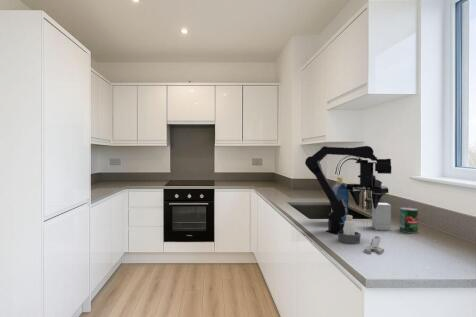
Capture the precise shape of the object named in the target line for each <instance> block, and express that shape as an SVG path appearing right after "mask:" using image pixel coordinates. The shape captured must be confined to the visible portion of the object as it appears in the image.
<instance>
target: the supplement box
mask: <svg viewBox="0 0 476 317" xmlns="http://www.w3.org/2000/svg"><path fill="white" fill-rule="evenodd" d="M371 205H372V207H371V227H372V228H373V229H374V230H376V231H378V230H379V231H391V229H392V228H391V227H392V226H391V225H392V204H389V203H388V202H379V203H378V205H377V208H376V209H374V206H373V202H372V203H371Z"/></svg>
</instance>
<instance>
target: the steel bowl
mask: <svg viewBox="0 0 476 317" xmlns="http://www.w3.org/2000/svg"><path fill="white" fill-rule="evenodd" d="M343 233H344V229H343V231H339V232H338V234H337V241H338V242H339V243H343V244H346V245H357V244H360V243H361V233H360V232H359V231H355V235H345V234H343Z"/></svg>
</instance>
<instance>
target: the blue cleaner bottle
mask: <svg viewBox="0 0 476 317" xmlns="http://www.w3.org/2000/svg"><path fill="white" fill-rule="evenodd" d="M343 180H344V179H343V178H342V177H340V176H337V177H336V182H335V183H334V184H333V185H332V186H331V187H332V189H333V191H334V192H335V194H336V196H337V197H338V198H339V199H340V200H341V199H343V200H344V203H345V204H346V205H347V207H346V208H347V212H346V214H345V215H344V216H343V217H342V218H341V219H342V220H343V228H344V224H345V221H346V215H349V190H346V186H345V184H344V183H343V182H344V181H343ZM330 208H331V207H330ZM331 212H332V208H331ZM331 212H330V213H331Z"/></svg>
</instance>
